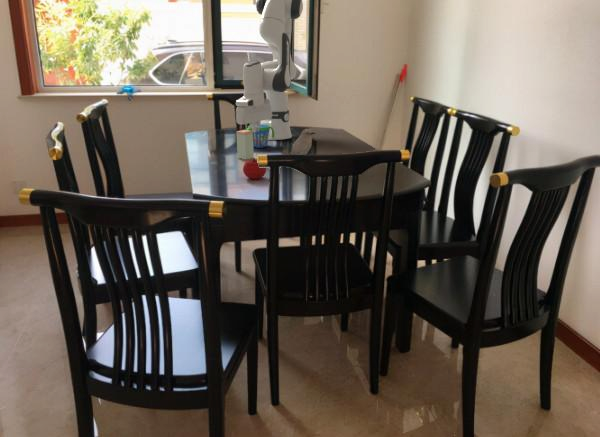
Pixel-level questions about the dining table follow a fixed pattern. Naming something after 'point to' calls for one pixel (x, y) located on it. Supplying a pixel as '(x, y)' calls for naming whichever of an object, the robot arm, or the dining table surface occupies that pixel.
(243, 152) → the tall block
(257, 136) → the snack cup
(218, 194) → the dining table surface
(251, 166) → the tomato
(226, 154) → the dining table surface
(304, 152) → the bird
